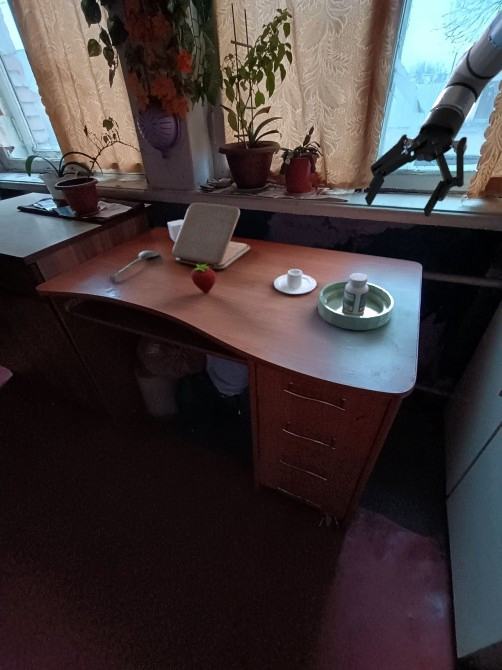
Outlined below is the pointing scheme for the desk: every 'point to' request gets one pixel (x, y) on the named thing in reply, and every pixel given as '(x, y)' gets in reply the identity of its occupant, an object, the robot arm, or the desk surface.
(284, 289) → the candle holder
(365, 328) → the bowl
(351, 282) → the pill bottle
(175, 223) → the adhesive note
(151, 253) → the soupspoon
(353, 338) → the desk surface
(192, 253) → the case
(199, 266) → the strawberry
